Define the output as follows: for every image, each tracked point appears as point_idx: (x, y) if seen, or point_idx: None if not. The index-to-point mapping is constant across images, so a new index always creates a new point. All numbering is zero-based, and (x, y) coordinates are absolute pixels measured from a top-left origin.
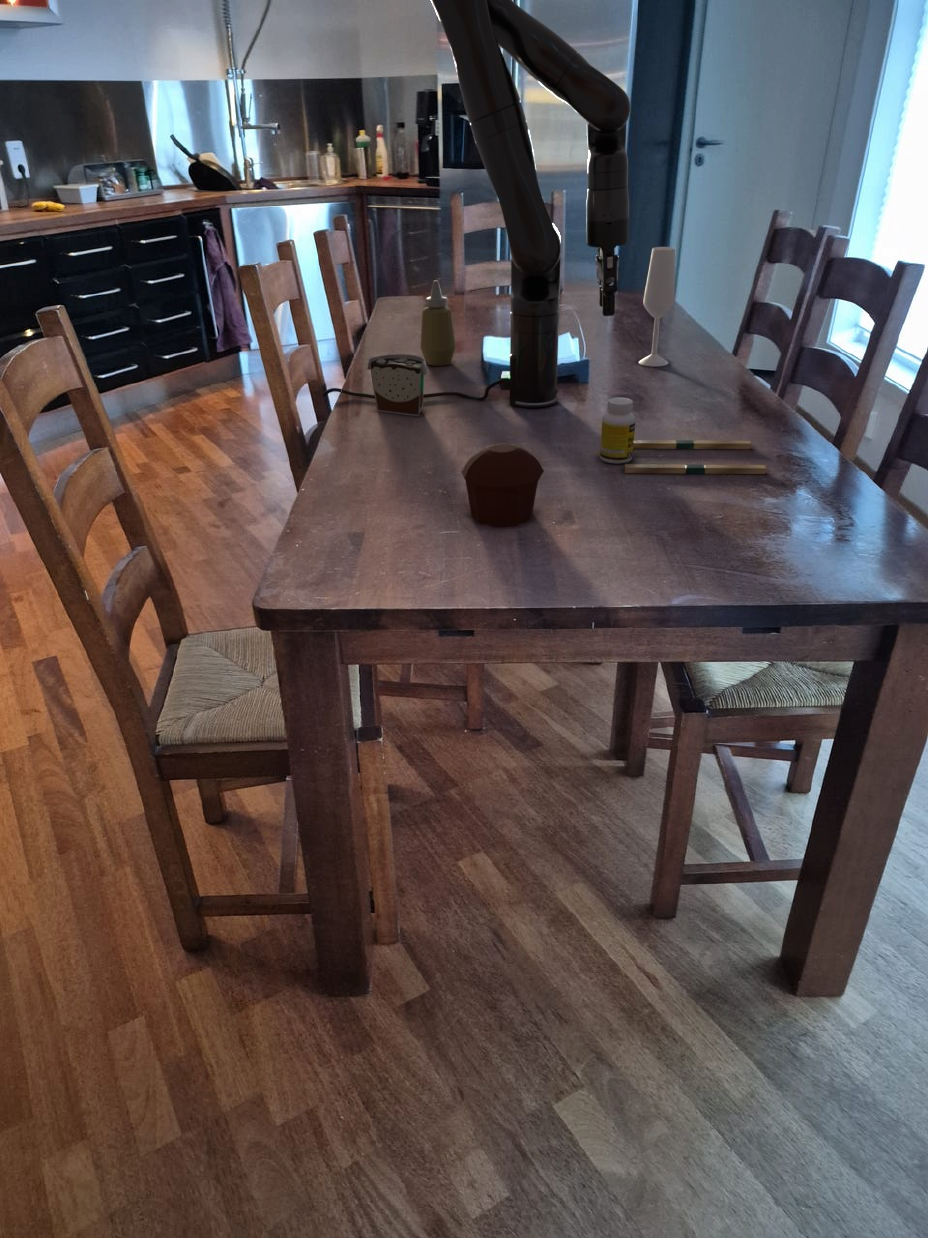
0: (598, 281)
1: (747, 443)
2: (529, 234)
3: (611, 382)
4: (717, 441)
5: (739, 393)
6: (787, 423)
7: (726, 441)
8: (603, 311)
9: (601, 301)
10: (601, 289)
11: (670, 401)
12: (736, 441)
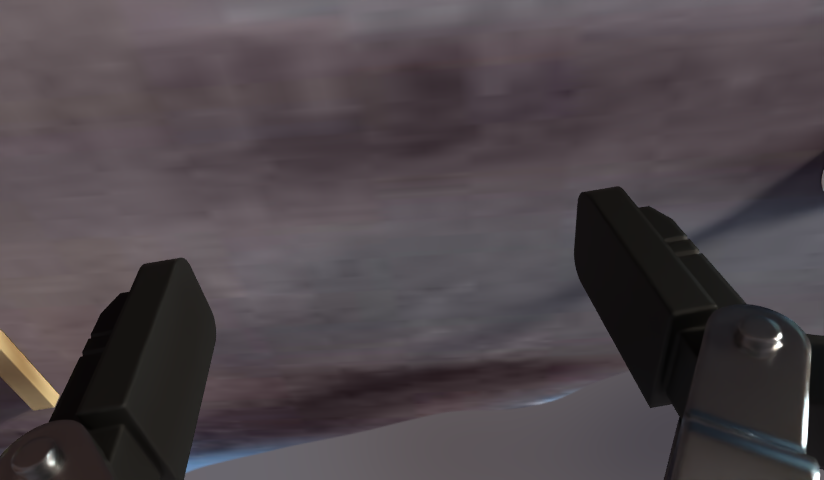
0: (751, 340)
1: (28, 405)
2: None
3: (650, 22)
4: (1, 359)
5: (492, 363)
6: (268, 436)
7: (15, 374)
8: (139, 286)
9: (596, 225)
10: (649, 305)
11: (402, 232)
12: (30, 389)
